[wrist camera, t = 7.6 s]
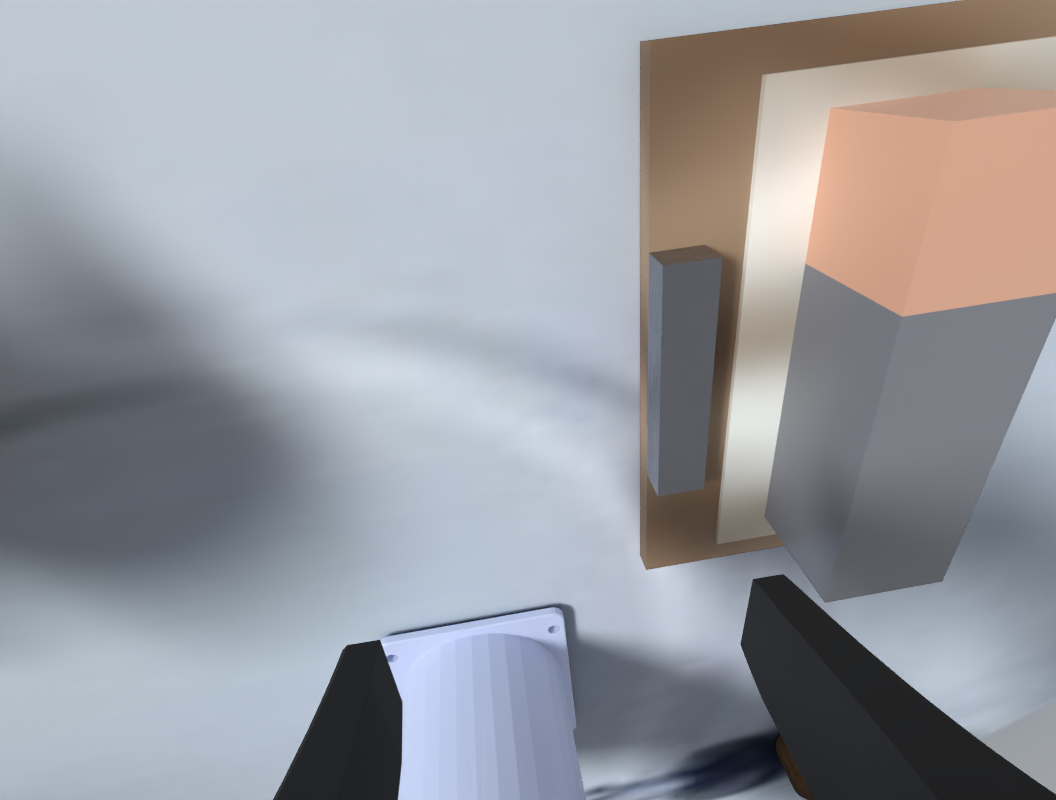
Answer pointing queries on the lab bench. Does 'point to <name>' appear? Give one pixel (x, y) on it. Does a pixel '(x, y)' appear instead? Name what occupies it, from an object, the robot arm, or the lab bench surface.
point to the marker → (913, 330)
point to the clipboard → (764, 230)
